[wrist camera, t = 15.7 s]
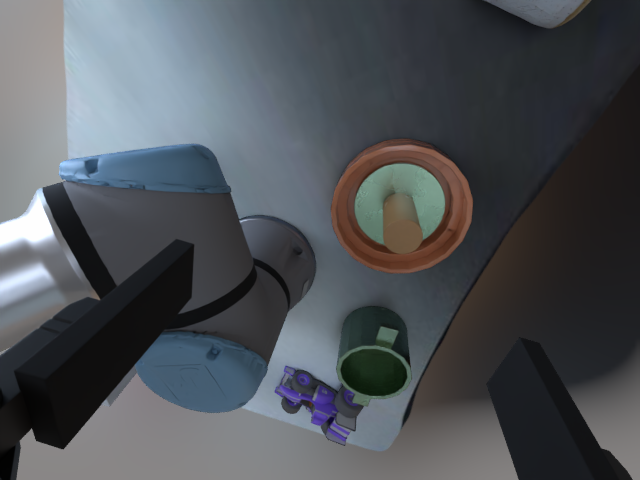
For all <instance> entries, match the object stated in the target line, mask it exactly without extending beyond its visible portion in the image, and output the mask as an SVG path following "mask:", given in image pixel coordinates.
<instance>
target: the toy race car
mask: <svg viewBox="0 0 640 480" xmlns="http://www.w3.org/2000/svg"><path fill="white" fill-rule="evenodd" d="M295 371H296V370H294V369H292V368H289V367H287V366H286V367H285V369H284V372H286V373H285V375H284V377H283V379H282V381H281V384H280V385H279V387H278V388H277V387H276V389H275V393H277V394H278V395H279V396H281V397H283V396H284V397H283V399H282V402H281V404H282V407H283V409H284V410H285V411H286V412H287V413H290V414H294V413H297V412H298V411H299V409H300V407H301V406H302V405H304V406H306V410H308V411H309V412H311V413H312V417H311V418H312V420H311V423H313V424H316V425H319V426H320V425H321V428H322V431H323V433H324V434H325V435H326V438H327V439H328V440H331V441H333V442H336V443H338V444H341V445H344V446H345V442H346V439H347V436H348V435H349V433H350V432H351V431H355V430H356V416H357V415H358V414H359V413H360V411H361V410H362V408H363V407H364V406H363V405H359V404H356V403H352V397H353V394H354V393H353V392H351V391H349V390H348V389H346V388H345V386H343V387H342V388H341V389H340V390H339V392H338V394H337V392H336V391H335V390H333V389H332V388H330V387H329V386H327V385H325V384H324V383H322V382H320V381H317V380H315V379H313V378H312V376H311V375H310V374H309V373H308V372H306V371H297V372H296V373H295ZM294 373H295V374H294ZM290 375H291V376H293V375H294V376H293V378H292V381H291V385H292V386H291V387H287V386H285V383H286V381H287V379H288V377H289V376H290Z"/></svg>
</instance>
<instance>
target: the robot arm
mask: <svg viewBox="0 0 640 480" xmlns="http://www.w3.org/2000/svg"><path fill="white" fill-rule="evenodd" d="M59 167H60V172H59V175H60V176H61V178H62V179H65V180H66V181H64V182H61V183H57V184H54V185H51V186H47V187H43V188H40V189H38V190H37V191H36V193H35V195H34V197H33V199H32V201H31V203H30V205H29V207H28V209H27V211H26V212H25V213H24V214H23V215H22V216H21V217H18V218H15V219H11V220H8V221H5V222H2V223H0V352H1V351H3V350H6V349H7V348H9V349H8V350H7V351H5V352H4V353H3V354H1V355H0V480H16V477H17V470H18V463H19V456H20V449H21V447H20V440H21V439H22V438H23V437H24V435H26V433H28V432H29V431H30V429H31V428H32V430H33V433H34V436H35V439H36V441H38V442H41V443H44V444H48V445H51V446H54V447H57V448H60V449H64V448H65V447H66V446H67V445H68V443H69V442H70V441H71V440H72V439H73V438H74V436H75V435H76V434H77V433H78V432H79V430H80V429H81V428H82V427H83V426H84V425H85V423H86V422H87V421H88V420H89V419H90V417H91V416H92V415H93V414H94V413H95V411H96V410H97V409H98V408H99V406H100V405H101V404H102V403H103V402H104V401H105V400H106V398H107V397H108V396H109V395H110V394H111V393H112V391H113V390H114V389H115V388H116V387H117V385H118V384H119V383H120V382H121V381H122V380H123V378H124V377H125V376H126V375H127V374H128V372H129V371H130V370H131V369H132V368H133V366H134V365H135V368H136V370H137V373H138V375H139V377H140V378H141V380H142V381H143V382H144V383H145V384H146V386H148V387H149V388H150V389H151V390H152V391H153V392H154V393H156V394H157V395H159V396H160V397H162V398H164V399H165V400H167V401H169V402H171V403H174V404H176V405H179V406H181V407H184V408H187V409H190V410H195V411H200V412H207V413H220V412H228V411H232V410H235V409H238V408H240V407H242V406H243V405H245V404H246V403H247V402H248V401H249V400H250V399H251V398H252V397H253V396H254V395H255V393H256V391H257V389H258V387H259V385H260V383H261V382H262V380H263V378H264V377H265V375H266V373H267V370H268V369H267V368H268V364H269V361H270V358H271V356H272V353H273V350H274V348H275V345H276V342H277V340H278V337H279V334H280V332H281V329H282V326H283V324H284V321H285V318H286V316H287V313H288V311H289V310H290V309H292V308H293V307H294V306H295V305H296V304H297V303H298V302H299V301H300V300H301V299H302V298H303V297H304V296H305V295H306V294H307V292H308V291H309V289H310V287H311V285H312V282H313V279H314V276H315V271H316V261H315V256H314V253H313V250H312V248H311V246H310V244H309V242H308V241H307V239H306V238H305V237H304V236H303V235H302V234H301V232H299V231H298V230H297V229H296V228H295V227H293V226H292V225H290V224H289V223H287V222H285V221H283V220H280V219H278V218H275V217H270V216H264V215H255V216H248V217H245V218H242V219H239V218H238V215H237V212H236V209H235V206H234V203H233V200H232V197H231V194H230V192H231V188H230V186H228V185H227V183H226V181H225V178H224V176H223V173H222V171H221V169H220V166H219V164H218V161H217V159H216V157H215V155H214V154H213V153H212V151H210V150H209V149H208V148H206V147H205V146H202V145H199V144H182V145H172V146H164V147H156V148H148V149H140V150H132V151H124V152H117V153H110V154H103V155H97V156H91V157H84V158H76V159H70V160H65V161H63V162H61V164H60V166H59ZM10 347H11V348H10ZM487 387H488V390H489V393H490V396H491V399H492V402H493V405H494V408H495V411H496V414H497V417H498V419H499V423H500V426H501V428H502V431H503V434H504V437H505V440H506V443H507V446H508V449H509V452H510V455H511V458H512V461H513V464H514V467H515V470H516V472H517V476H518V479H519V480H632V478H631V477H630V475H629V473H628V472H627V470H626V469H625V468H624V467H623V466H622V465H621V464H620V462H619V461H618V460H617V459H616V458H615V457H614V456H613V455H612V454H611V452H610V451H607V450H605V449H601V448H600V446H599V444H598V442H597V441H596V439H595V437H594V436H593V434H592V432H591V430H590V429H589V427H588V425H587V424H586V422H585V420H584V419H583V417H582V415H581V413H580V411H579V410H578V408H577V406H576V405H575V403H574V401H573V400H572V398H571V396H570V395H569V393H568V391H567V390H566V388H565V386H564V384H563V383H562V381H561V379H560V377H559V376H558V374H557V372H556V371H555V369H554V367H553V366H552V364H551V362H550V360H549V359H548V357H547V355H546V354H545V352H544V350H543V349H542V347H541V345H540V343H538V342H534V341H531V340H527V339H524V338H520V337H519V339H518V340H517V341H516V343H515V344H514V346H513V347H512V349H511V350H510V351H509V353H508V354H507V356H506V357H505V359H504V360H503V362H502V363H501V364H500V366H499V367H498V368H497V370H496V371H495V373H494V374H493V376H492V377H491V378H490V380H489V381H488V383H487Z"/></svg>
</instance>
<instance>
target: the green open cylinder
mask: <svg viewBox="0 0 640 480" xmlns="http://www.w3.org/2000/svg"><path fill="white" fill-rule="evenodd" d="M336 370H337V375H338V379H339V380H340V382H341V383H342V384H343V385H344V386H345V388H346V389H348V390H349V391H351V392H353V393H354V394H353V397H352V403H356V404H359V405H363V406H368V404H369V401H370V399H387V398H390V397H394V396H397V395H399V394H400V393H401V392H403V391H404V390H405V389H407V387H408V385H409V383H410V381H411V379H412V375H411V366H410V356H409V347H408V337H407V328H406V326H405V323H404V321H403V320H402V319H401V318H400V317H399V316H398V315H397V314H396V313H395V312H393V311H391V310H389V309H386V308H383V307H378V306H368V307H362V308H359V309H357V310H355V311H353V312H352V313H351V314H349V315H348V317H347V318H346V319H345V321H344V324H343V328H342V332H341V339H340V346H339V353H338V360H337V366H336Z"/></svg>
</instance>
